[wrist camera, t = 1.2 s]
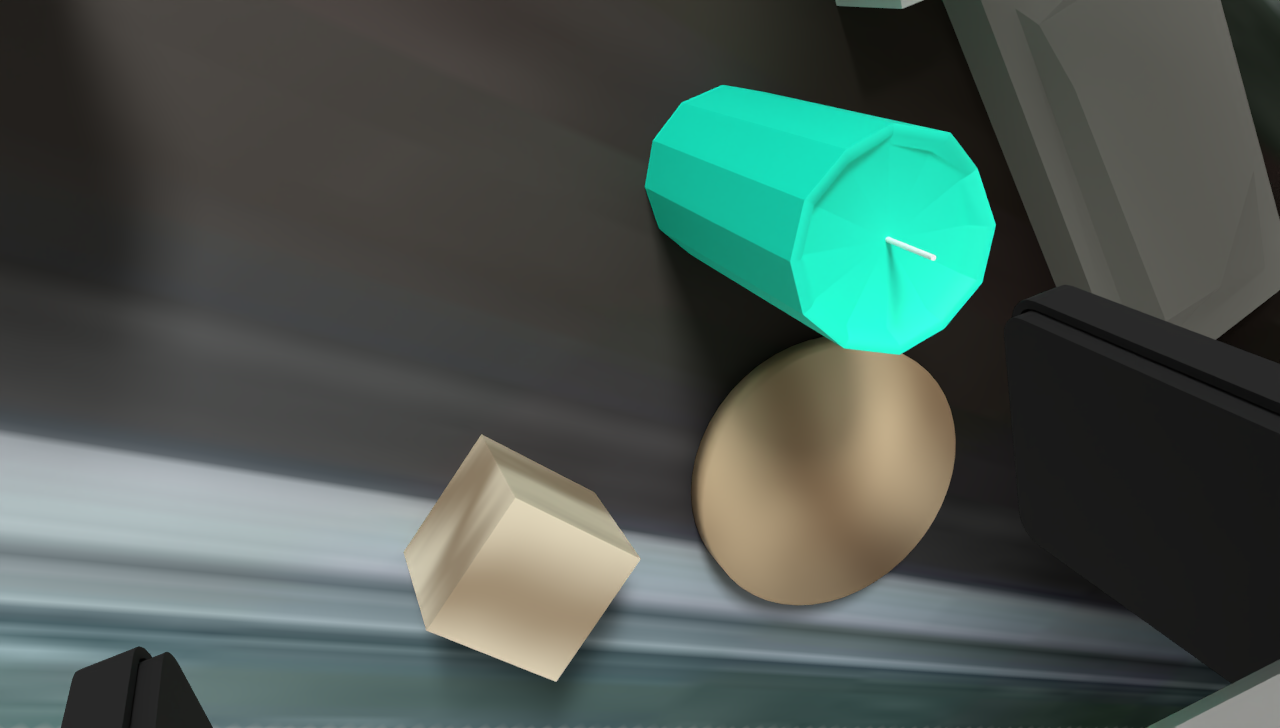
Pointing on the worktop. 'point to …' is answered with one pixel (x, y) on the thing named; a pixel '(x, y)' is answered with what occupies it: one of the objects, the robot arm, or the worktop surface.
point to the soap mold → (1131, 150)
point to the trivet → (822, 471)
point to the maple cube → (517, 561)
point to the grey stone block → (877, 3)
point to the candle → (825, 212)
